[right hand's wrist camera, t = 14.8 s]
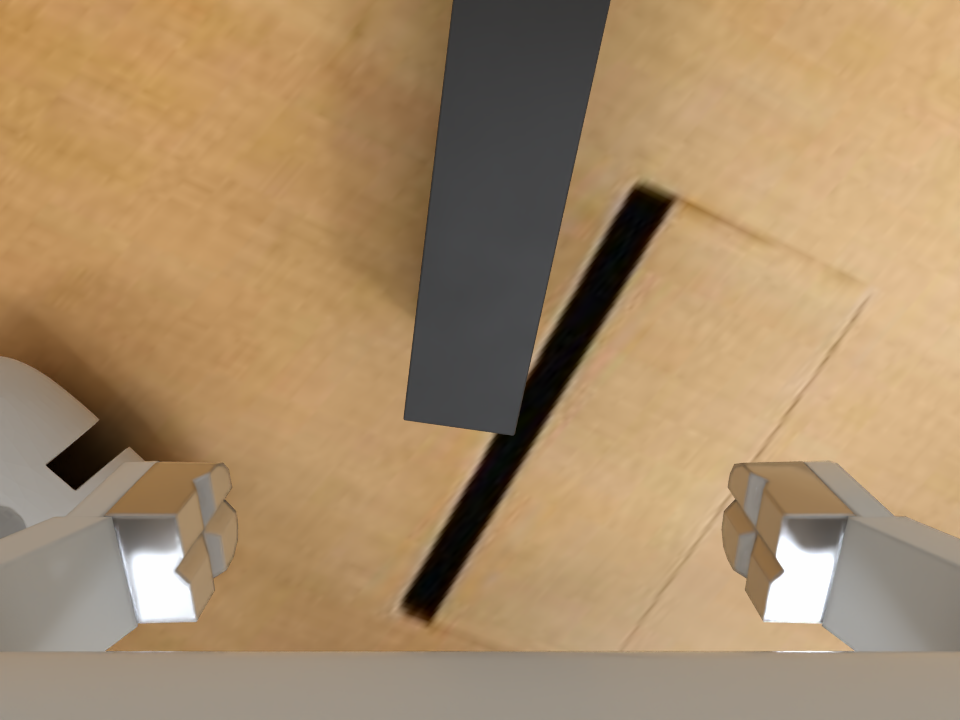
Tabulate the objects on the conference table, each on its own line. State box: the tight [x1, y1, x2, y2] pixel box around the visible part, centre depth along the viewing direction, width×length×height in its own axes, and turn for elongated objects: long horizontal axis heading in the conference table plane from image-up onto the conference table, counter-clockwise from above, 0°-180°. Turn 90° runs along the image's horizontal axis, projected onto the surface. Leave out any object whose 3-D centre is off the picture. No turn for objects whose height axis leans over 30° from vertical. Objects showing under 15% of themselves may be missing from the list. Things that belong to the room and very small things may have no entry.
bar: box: [404, 0, 611, 435], centre depth 26 cm, size 26×5×10 cm, turn 171°
